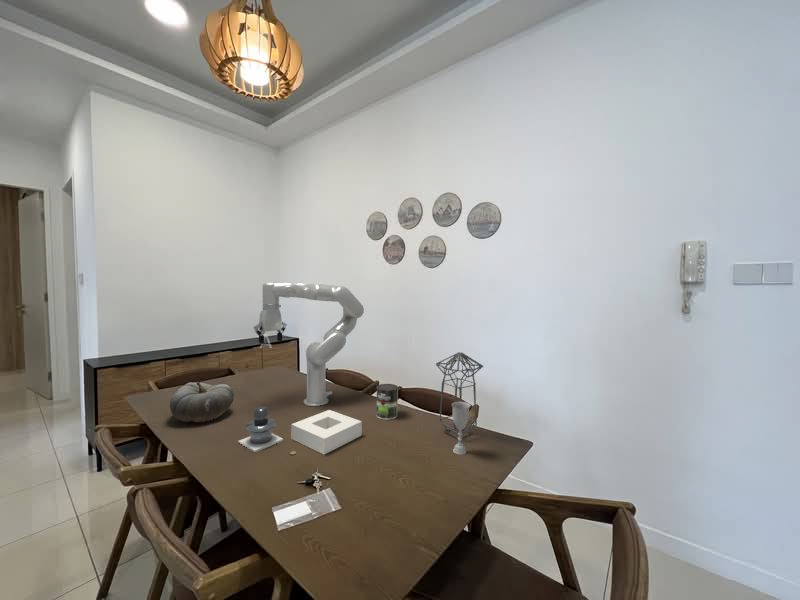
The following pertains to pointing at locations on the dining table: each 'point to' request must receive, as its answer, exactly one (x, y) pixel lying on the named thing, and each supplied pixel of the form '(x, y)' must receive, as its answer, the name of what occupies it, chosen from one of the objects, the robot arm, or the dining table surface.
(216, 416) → the gourd
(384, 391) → the coffee can
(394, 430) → the dining table surface
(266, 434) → the grey round knobbed piece
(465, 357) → the geometric lantern
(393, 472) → the dining table surface
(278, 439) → the mat
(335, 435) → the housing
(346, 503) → the dining table surface
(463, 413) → the chalice
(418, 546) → the dining table surface
